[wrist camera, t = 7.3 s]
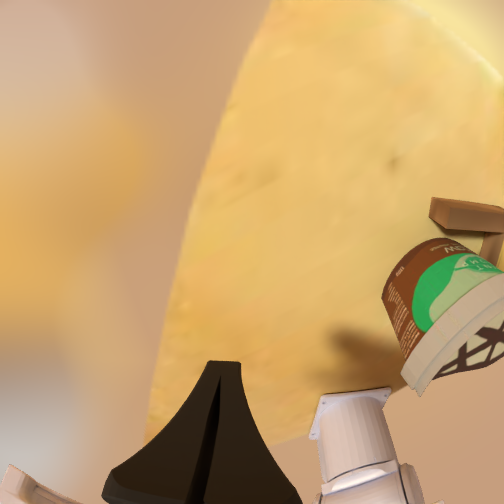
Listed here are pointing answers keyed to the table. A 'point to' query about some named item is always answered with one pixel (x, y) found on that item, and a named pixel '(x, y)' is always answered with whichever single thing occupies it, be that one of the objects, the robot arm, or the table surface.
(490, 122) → the table surface
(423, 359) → the food container
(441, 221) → the dock bay
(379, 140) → the table surface
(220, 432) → the robot arm
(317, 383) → the table surface
